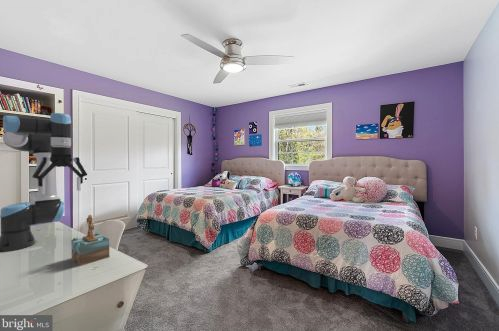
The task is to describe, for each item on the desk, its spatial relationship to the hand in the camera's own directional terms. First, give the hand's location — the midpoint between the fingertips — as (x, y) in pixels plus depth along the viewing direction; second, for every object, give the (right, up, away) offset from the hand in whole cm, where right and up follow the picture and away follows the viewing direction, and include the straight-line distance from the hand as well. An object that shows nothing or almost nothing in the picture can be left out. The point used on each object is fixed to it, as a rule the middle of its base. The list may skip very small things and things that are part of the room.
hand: (61, 192), depth 111 cm
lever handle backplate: (+11, -24, +3) cm, 26 cm away
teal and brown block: (+11, -33, +3) cm, 35 cm away
